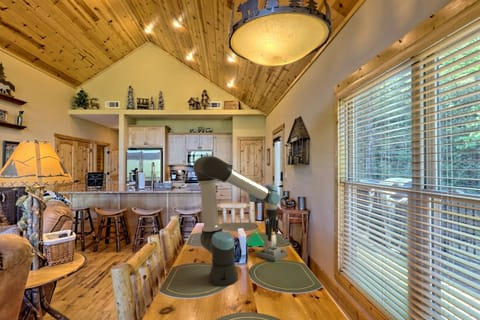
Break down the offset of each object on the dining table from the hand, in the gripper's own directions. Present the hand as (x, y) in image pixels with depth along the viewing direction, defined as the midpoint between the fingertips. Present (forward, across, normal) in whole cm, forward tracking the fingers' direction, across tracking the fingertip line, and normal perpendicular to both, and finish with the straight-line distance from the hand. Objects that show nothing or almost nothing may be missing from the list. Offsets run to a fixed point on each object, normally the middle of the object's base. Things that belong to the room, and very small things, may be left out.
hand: (272, 244), depth 165 cm
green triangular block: (+8, +10, +22) cm, 25 cm away
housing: (+7, 0, 0) cm, 7 cm away
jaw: (+2, 0, 0) cm, 2 cm away
